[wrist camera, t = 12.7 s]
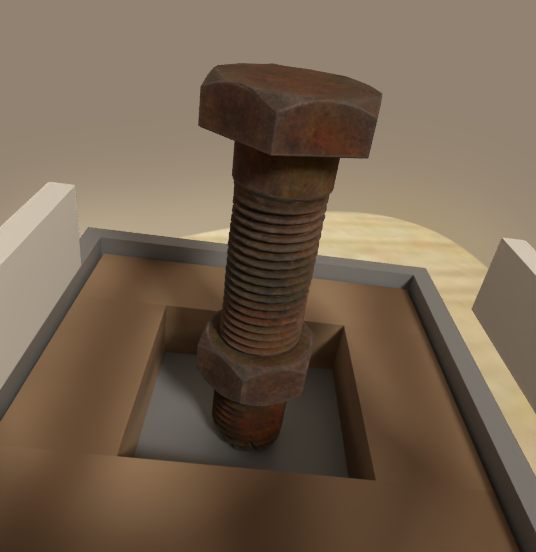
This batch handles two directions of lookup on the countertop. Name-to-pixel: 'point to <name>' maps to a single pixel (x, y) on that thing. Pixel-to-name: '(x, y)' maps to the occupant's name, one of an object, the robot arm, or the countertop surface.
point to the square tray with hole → (231, 480)
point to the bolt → (274, 230)
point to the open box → (317, 388)
